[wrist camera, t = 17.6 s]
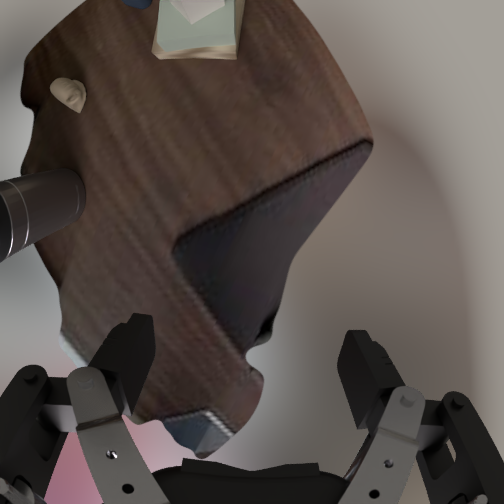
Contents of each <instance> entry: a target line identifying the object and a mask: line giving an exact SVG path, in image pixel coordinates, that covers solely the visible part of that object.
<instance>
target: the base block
mask: <svg viewBox="0 0 504 504" xmlns="http://www.w3.org/2000/svg"><path fill="white" fill-rule="evenodd" d="M235 2H236V45H226V46H211V47H201V48H191V49H183V50H176V51H169V52H165V51H164V50H163V49H162V47H161V46H160V45H159V44H158V43H157V29H158V23H157V27H156V32H155V37H154V42H153V47H152V53H153V54H154V55H155V56H156V57H158V58H159V59H173V58H217V59H237V54H238V47H239V40H240V33H241V26H242V19H243V13H244V6H245V0H235Z"/></svg>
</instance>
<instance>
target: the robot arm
mask: <svg viewBox="0 0 504 504" xmlns="http://www.w3.org/2000/svg"><path fill="white" fill-rule="evenodd" d="M85 199H86V195H85V189H84V185H83V183H82V181H81V179H80V177H79V176H78V175H77V174H76V173H75V172H74V171H72V170H70V169H67V168H60V169H55V170H49V171H44V172H39V173H34V174H29V175H25V176H20V177H17V178H12V179H8V180H4V181H0V262H2V261H3V260H5V259H7V258H8V257H10V256H12V255H13V254H15V253H17V252H19V251H20V250H22V249H24V248H26V247H27V246H29V245H31V244H33V243H34V242H36V241H38V240H40V239H42V238H44V237H46V236H47V235H49V234H51V233H53V232H55V231H57V230H59V229H61V228H63V227H65V226H67V225H69V224H71V223H73V222H75V221H76V220H77V219H78V218H79V217H80V216H81V214H82V212H83V210H84V206H85ZM155 352H156V343H155V334H154V325H153V317H152V316H151V315H146V314H139V313H133V314H132V316H131V318H130V319H129V321H128V322H127V324H126V323H120V324H119V325H117V326H116V327H114V328H113V329H112V330H111V331H110V333H109V334H108V336H107V338H106V339H105V340H104V342H103V345H101V346H100V348H99V349H98V351H97V352H96V354H95V355H94V357H93V358H92V360H91V362H90V363H89V365H88V366H87V367H80V368H77V369H75V370H74V371H72V372H71V373H70V374H69V376H68V377H67V378H62V377H61V378H60V377H48V375H47V372H46V370H45V369H44V368H43V367H41V366H39V365H28V366H25V367H23V368H22V369H20V370H19V371H18V372H17V373H16V375H15V376H14V378H13V379H12V381H11V382H10V384H9V385H8V386H7V388H6V389H5V391H4V392H3V394H2V395H1V397H0V504H47V503H46V502H45V501H44V497H45V494H46V491H47V488H48V485H49V482H50V479H51V476H52V474H53V471H54V468H55V465H56V463H57V460H58V458H59V455H60V452H61V450H62V448H63V445H64V442H65V440H66V438H67V435H68V433H69V432H77V435H78V438H79V441H80V444H81V447H82V450H83V453H84V456H85V459H86V461H87V464H88V467H89V469H90V472H91V474H92V477H93V479H94V481H95V484H96V486H97V489H98V491H99V493H100V495H101V497H102V500H103V502H104V503H102V504H398V502H399V500H400V497H401V495H402V492H403V490H404V487H405V485H406V482H407V480H408V477H409V474H410V472H411V469H412V466H413V463H414V460H415V457H416V460H417V463H418V466H419V469H420V472H421V475H422V478H423V481H424V484H425V487H426V490H427V494H428V497H429V500H430V504H504V462H503V460H502V458H501V456H500V454H499V452H498V450H497V448H496V446H495V444H494V442H493V440H492V438H491V437H490V435H489V433H488V431H487V429H486V427H485V426H484V424H483V422H482V420H481V419H480V417H479V415H478V413H477V412H476V410H475V408H474V407H473V405H472V403H471V402H470V400H469V399H468V398H467V397H466V396H465V395H464V394H462V393H459V392H454V391H452V392H448V393H447V394H445V396H444V397H443V399H442V400H441V401H434V400H425V398H424V396H423V395H422V393H421V392H420V391H418V390H417V389H415V388H412V387H409V386H406V385H405V384H404V382H403V380H402V378H401V376H400V375H399V373H398V371H397V370H396V368H395V366H394V365H393V362H392V361H391V359H390V358H389V356H388V354H387V352H386V350H385V349H384V348H383V347H382V346H381V345H380V344H378V343H377V342H376V341H372V340H371V338H370V336H369V334H368V333H367V331H366V330H348V331H347V333H346V335H345V339H344V342H343V345H342V348H341V351H340V354H339V357H338V362H337V368H338V373H339V376H340V379H341V382H342V385H343V388H344V391H345V394H346V397H347V399H348V403H349V406H350V409H351V412H352V415H353V418H354V421H355V424H356V427H357V429H365V428H368V431H369V433H368V435H367V436H366V438H365V440H364V442H363V444H362V446H361V448H360V450H359V452H358V453H357V455H356V457H355V459H354V460H353V462H352V464H351V466H350V467H349V469H348V471H347V472H346V474H345V475H344V477H343V478H342V477H340V476H337V475H334V474H331V473H328V472H323V471H319V466H318V463H306V464H285V465H281V466H277V467H272V468H268V469H262V470H257V471H247V470H244V469H240V468H235V467H232V466H228V465H225V464H222V463H218V462H212V461H203V460H195V459H187V458H183V461H182V466H175V467H168V468H164V469H160V470H158V471H155V472H153V473H151V472H150V470H149V469H148V467H147V465H146V464H145V462H144V460H143V458H142V456H141V455H140V453H139V451H138V449H137V447H136V445H135V443H134V441H133V439H132V437H131V435H130V433H129V431H128V429H127V427H126V425H125V423H124V421H123V419H122V417H121V416H122V414H124V415H128V416H132V414H133V412H134V409H135V406H136V404H137V401H138V398H139V396H140V393H141V391H142V388H143V386H144V383H145V381H146V378H147V375H148V373H149V371H150V368H151V366H152V363H153V361H154V358H155ZM449 439H450V441H451V443H452V445H453V448H454V450H455V452H456V460H455V462H454V460H453V458H452V455H451V453H450V451H449V448H448V446H447V444H446V442H447V441H448V440H449Z"/></svg>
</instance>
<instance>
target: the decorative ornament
mask: <svg viewBox="0 0 504 504" xmlns="http://www.w3.org/2000/svg"><path fill="white" fill-rule="evenodd" d="M50 90H51V92H52V94H53V95H54V96H55V97H56V98H57V99H58V100H59V101H61V102H62V103H63V104H65V105H66V106H68V107H69V108H71V109H72V110H74V111H76V112H78V113H80V112H81V110H82V108H83V105H84V102H85V100H86V92H85V88H84V86H83V84H82V83H81V82H79V81H77V80H70V79H67V78H58V79H56V80H55V81H54V82H53V83H52V84H51V86H50Z"/></svg>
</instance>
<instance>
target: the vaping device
mask: <svg viewBox="0 0 504 504" xmlns="http://www.w3.org/2000/svg"><path fill="white" fill-rule="evenodd" d="M122 1H123V2H124V3H125V4H126V5H128V6H132V7H136V8H139V9H145V8H147V7H148V6H149V5H150V4H151V2H152V0H122Z"/></svg>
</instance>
